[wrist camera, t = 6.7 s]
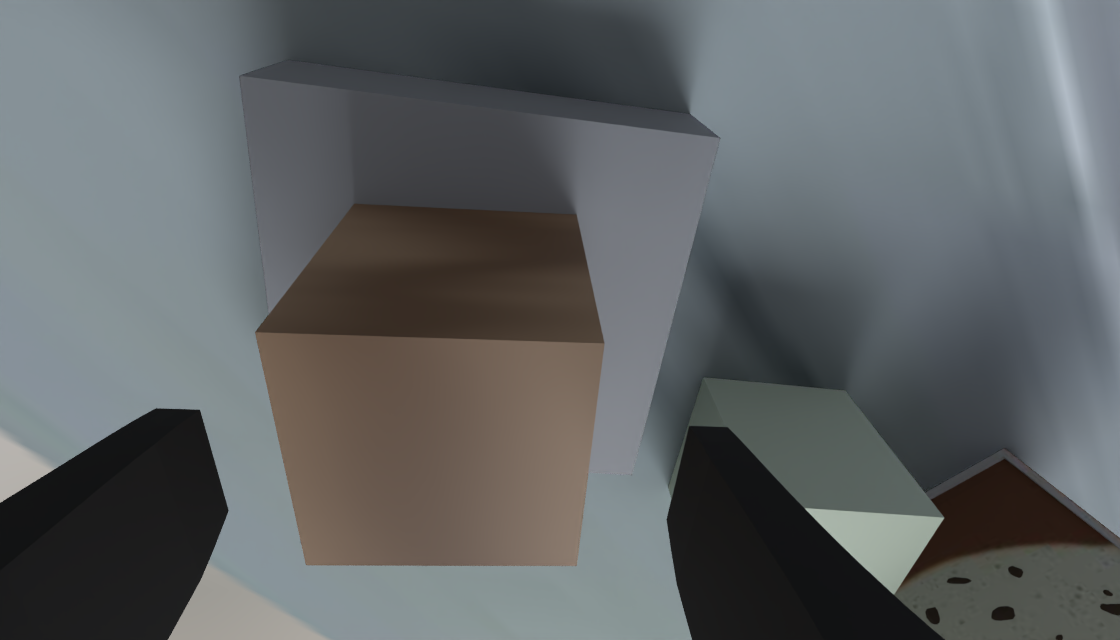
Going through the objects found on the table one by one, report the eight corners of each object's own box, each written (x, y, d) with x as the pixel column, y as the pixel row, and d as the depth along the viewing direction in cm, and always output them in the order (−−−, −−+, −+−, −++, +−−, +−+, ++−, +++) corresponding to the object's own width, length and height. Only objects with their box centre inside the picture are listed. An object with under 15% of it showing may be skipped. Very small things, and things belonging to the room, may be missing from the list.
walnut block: (576, 214, 12) (604, 343, 8) (561, 390, 14) (576, 566, 10) (354, 204, 12) (255, 332, 8) (373, 385, 14) (306, 565, 10)
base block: (684, 109, 14) (720, 138, 12) (617, 406, 19) (632, 475, 16) (295, 57, 13) (239, 75, 11) (321, 383, 18) (286, 453, 15)
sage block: (843, 389, 18) (944, 517, 14) (794, 494, 20) (867, 634, 16) (702, 376, 18) (760, 505, 13) (667, 486, 20) (707, 627, 15)
